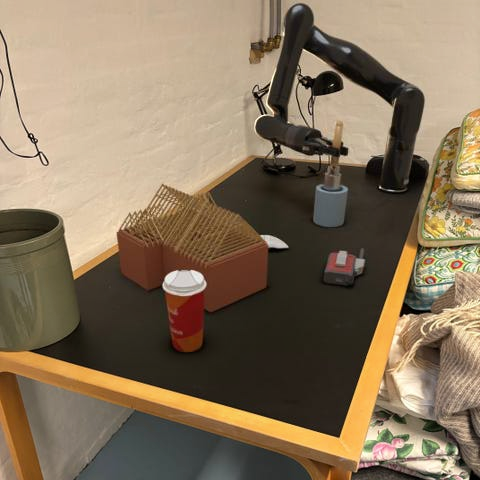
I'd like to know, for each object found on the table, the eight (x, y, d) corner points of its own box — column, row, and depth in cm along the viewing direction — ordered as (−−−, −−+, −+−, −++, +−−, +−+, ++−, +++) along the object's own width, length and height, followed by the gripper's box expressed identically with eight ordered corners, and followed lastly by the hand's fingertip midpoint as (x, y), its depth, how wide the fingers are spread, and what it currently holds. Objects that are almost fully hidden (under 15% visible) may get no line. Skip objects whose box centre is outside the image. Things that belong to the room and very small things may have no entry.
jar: (314, 214, 153) (317, 182, 148) (344, 217, 152) (348, 184, 147) (311, 225, 146) (314, 191, 141) (343, 228, 144) (347, 194, 139)
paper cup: (168, 333, 98) (163, 268, 90) (207, 331, 98) (205, 267, 91) (166, 356, 91) (160, 289, 84) (208, 355, 92) (206, 288, 84)
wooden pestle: (324, 184, 146) (331, 118, 136) (340, 186, 145) (348, 119, 135) (322, 189, 142) (330, 122, 132) (339, 191, 141) (347, 123, 132)
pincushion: (289, 244, 134) (290, 224, 131) (287, 254, 129) (288, 233, 126) (244, 241, 136) (245, 221, 133) (241, 250, 131) (241, 230, 128)
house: (120, 272, 119) (110, 193, 109) (197, 246, 133) (195, 173, 122) (193, 320, 102) (189, 231, 92) (273, 284, 115) (277, 203, 105)
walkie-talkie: (360, 290, 113) (366, 254, 129) (362, 273, 111) (368, 238, 127) (321, 285, 115) (332, 250, 131) (323, 268, 113) (333, 234, 129)
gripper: (285, 128, 143) (325, 141, 131) (322, 124, 149) (364, 135, 137) (283, 155, 147) (322, 170, 135) (319, 149, 153) (360, 163, 141)
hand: (343, 152), depth 136 cm, fingers closed on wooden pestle
